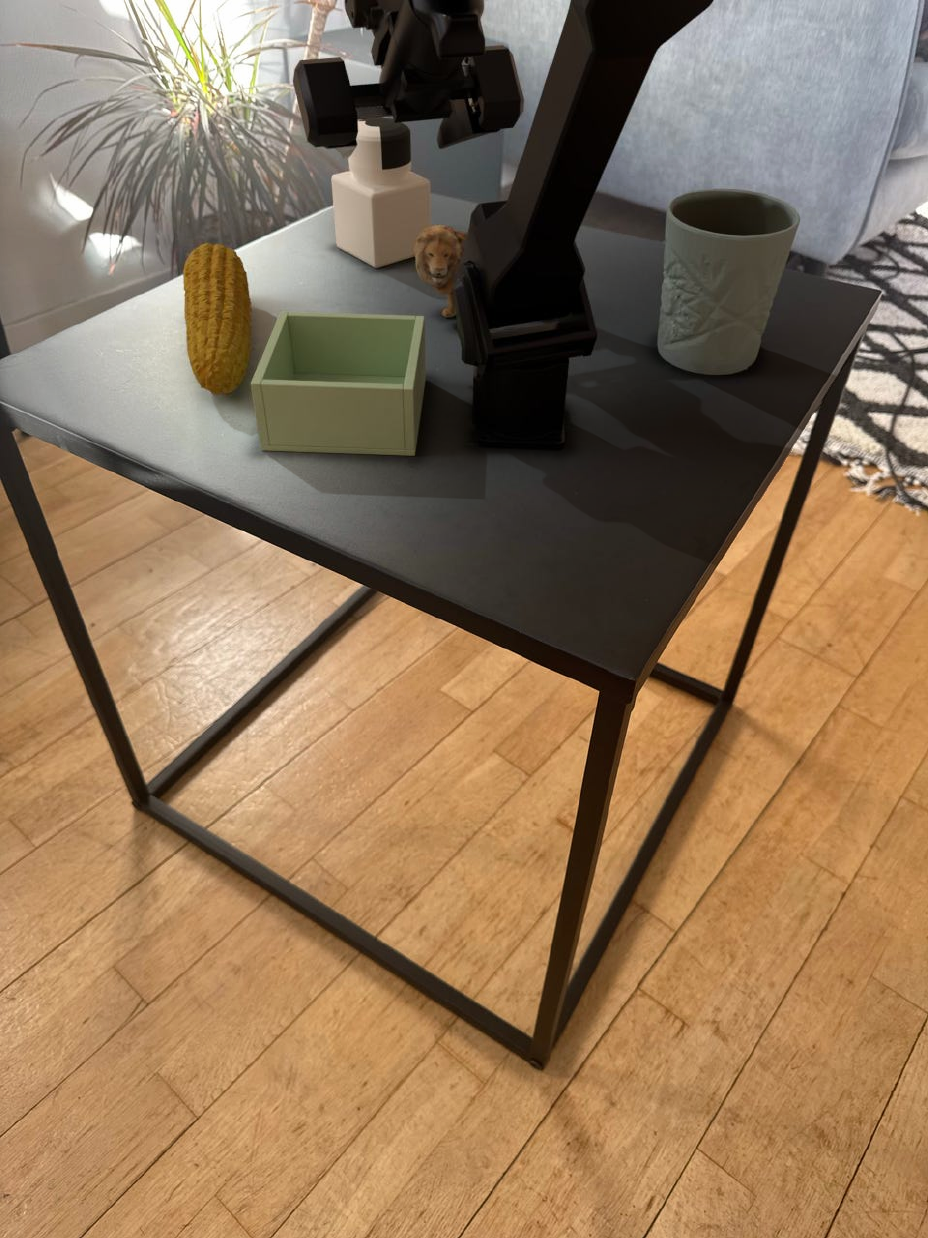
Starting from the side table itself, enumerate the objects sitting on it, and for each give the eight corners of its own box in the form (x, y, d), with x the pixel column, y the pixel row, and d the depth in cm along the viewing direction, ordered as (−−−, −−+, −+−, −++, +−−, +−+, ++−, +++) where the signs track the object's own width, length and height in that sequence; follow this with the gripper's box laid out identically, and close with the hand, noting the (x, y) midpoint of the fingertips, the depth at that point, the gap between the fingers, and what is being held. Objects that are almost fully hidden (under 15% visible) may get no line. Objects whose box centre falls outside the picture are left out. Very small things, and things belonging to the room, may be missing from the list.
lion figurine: (429, 344, 82) (428, 241, 76) (405, 319, 85) (402, 218, 79) (574, 313, 87) (584, 213, 81) (545, 290, 90) (553, 193, 84)
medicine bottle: (391, 231, 101) (386, 107, 92) (432, 252, 97) (431, 124, 88) (335, 247, 97) (325, 120, 89) (375, 269, 93) (369, 139, 85)
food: (188, 299, 88) (176, 234, 84) (249, 294, 89) (240, 230, 85) (193, 415, 73) (178, 343, 69) (267, 408, 74) (257, 337, 70)
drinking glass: (781, 345, 83) (818, 205, 75) (737, 393, 77) (772, 246, 68) (675, 315, 87) (699, 178, 79) (625, 358, 81) (645, 215, 72)
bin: (425, 378, 78) (424, 315, 74) (414, 456, 69) (413, 389, 66) (288, 374, 78) (280, 310, 74) (260, 450, 70) (250, 383, 66)
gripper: (518, -71, 74) (466, 55, 89) (284, -62, 69) (270, 70, 84) (552, 68, 74) (494, 170, 89) (320, 87, 69) (300, 192, 84)
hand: (392, 148), depth 86 cm, fingers open, 9 cm apart
